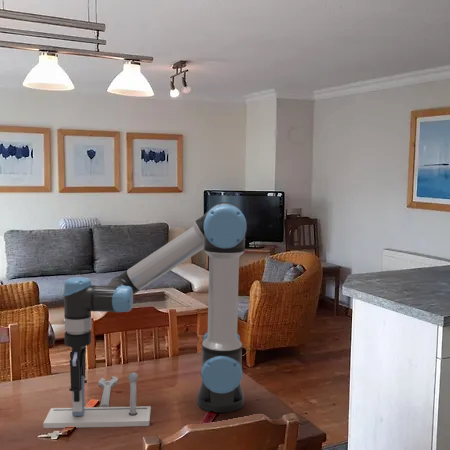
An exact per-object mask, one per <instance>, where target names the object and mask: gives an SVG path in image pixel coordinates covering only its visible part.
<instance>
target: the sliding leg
mask: <svg viewBox="0 0 450 450" xmlns="http://www.w3.org/2000/svg"><path fill="white" fill-rule="evenodd" d="M84 380H85V379H84V376H81V388H82V412H72V416H83V414H84V411H85V408H86V407H85V402H86V401H85V400H86V399H85V383H84Z"/></svg>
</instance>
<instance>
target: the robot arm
mask: <svg viewBox="0 0 450 450" xmlns="http://www.w3.org/2000/svg"><path fill="white" fill-rule="evenodd" d="M247 228H248V227H247V219H246V217H245V215H244V213H243V212H242V211H241V209H240V208H239V207H238V206H237V205H236V204H233V203H232V202H226V201H225V202H223V201H222V202H219V203H216V204H214V205H212V206H211V207H210V209H209V210H208V211H207V212H205V214H203V215H202V216H201V217H199V218H197V219H196V220H195V221H194V223H193V226H192V227H190V228H188V229H187V230H185V231H184V232H182V233H181V234H179V235H178V236H177V237H175V238H173V239H172V240H170V241H169V242H167V243H165V244H164V245H163V246H161V247H160V248H158V249H157V250H155V251H153V252H152V253H150V254H149V255H147V256H146V257H144V258H143V259H142V260H140V261H138V262H137V263H135V264H134V265H133V266H131V267H130V268H128V269H127V270H126V271H125V270H124V272H122V273H120V274H119V275H116V276H115V277H113V278H112V279H111V280H110V281H109V282H108V284H107V285H95V284H92V281H91V279H90V278H89V277H83V276H75V277H70V278H68V279H67V278H66V280H65V282H64V287H63V288H64V289H63V292H64V293H63V305H64V306H63V307H64V308H63V309H64V311H63V312H64V319H63V320H62V323H63V324H64V345H65V346H67V347H70V348H71V351H70V352H69V357H70V359H69V361H68V362H69V366H70V368H69V369H70V370H69V371H70V375H69V376H70V388H69V390H68V391H69V392H71V399H72V400H71V401H72V403H71V406H72V407H71V408H72V412H82V388H81V376H84V384H87V383H88V380H87V379H86V353H87V346H89V345H90V344H91V343H92V331H91V330H92V312H104V313H106V312H107V313H124V312H125V313H128V312H130V311H131V310H132V309H133V304H134V295H136V294H137V293H138V292H140V291H141V290H143V289H144V288H146V287H147V286H149V285H150V284H152V283H154V282H155V281H156V280H158V279H159V278H162V276H164V275H166V274H167V273H168V272H170V271H172V270H173V269H175V268H176V267H179V265H181V264H183V263H184V262H185V261H187V260H188V259H190V258H192V257H193V256H195V255H196V254H198V253H199V252H201V251H203V250H204V252H205V254H206V255H208V295H207V296H208V297H207V298H208V299H207V300H208V301H207V302H208V304H207V306H208V307H207V332H205V334H204V335H203V340H202V344H201V345H202V346H201V347H202V348H201V368H200V377H201V383H200V386H199V388H198V391H197V395H196V404H197V406H198V407H199V408H200V409H203V410H205V411H207V412H211V411H213V412H212V413H221V414H222V413H231V412H235V411H237V410H240V409H241V408H243V406H244V405H245V395H244V391H243V389H242V385H241V381H242V379H243V373H244V372H243V367H242V366H243V365H242V361H243V360H242V359H243V355H242V353H243V351H242V350H243V342H242V341H241V337H240V335H239V333H238V319H239V317H238V316H239V315H238V312H239V310H238V309H239V278H240V277H239V275H240V272H239V270H240V269H239V268H240V267H239V266H240V257H241V256H242V255H243V254H244V253H245V248H246V247H245V246H246V233H247V230H248V229H247Z"/></svg>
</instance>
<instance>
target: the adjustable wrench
mask: <svg viewBox="0 0 450 450" xmlns="http://www.w3.org/2000/svg"><path fill="white" fill-rule="evenodd" d="M118 383H119V378H118V377H117V376H113V375H112V376H111V377H110V380H106V379H105V377H101V378H100V379H99V381H98V382H97V386H98V387H101V388H102V389H103V390H102V396H101V400H100V404H99V407H110V399H111V391H112V389H113V388H114V387H115V386H116V385H117V384H118Z"/></svg>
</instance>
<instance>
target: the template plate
mask: <svg viewBox="0 0 450 450" xmlns="http://www.w3.org/2000/svg"><path fill="white" fill-rule="evenodd" d="M138 378H139V376H138V373H137V372H133V371H132V372H130V373H129V375H128V381H129V393H130V394H129V406H109V407H100V406H98V407H97V406H96V407H95V406H94V407H90V406H89V407H87V406H86V407H85V411H84V414H83V416H72V407H51V408H50V410H49V411H48V413H47V416H46V418H45V419H44V421H43V423H42V424H43V425H42V426H43V427H42V428H43V429H63V428H64V429H66V428H65V427H68V426H69V427H70V426H74V427H76V428H115V427H116V428H117V427H118V428H119V427H150V422H151V412H152V410H151V409H152V408H151V407H152V406H151V405H149V406H146V405H145V406H141V405H140V406H137V381H138Z"/></svg>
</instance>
